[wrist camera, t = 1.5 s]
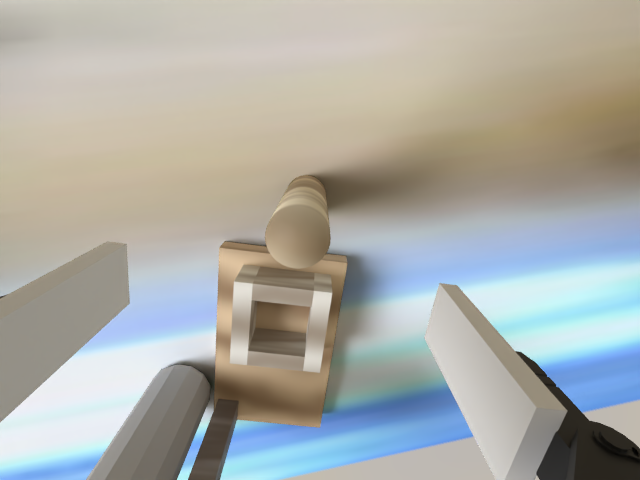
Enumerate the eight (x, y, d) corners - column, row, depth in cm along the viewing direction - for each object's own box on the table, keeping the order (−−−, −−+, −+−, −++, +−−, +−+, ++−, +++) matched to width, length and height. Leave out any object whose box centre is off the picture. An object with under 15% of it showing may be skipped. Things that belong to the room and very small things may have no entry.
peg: (288, 172, 33) (267, 202, 20) (328, 178, 33) (334, 210, 20) (284, 211, 34) (262, 264, 21) (323, 216, 34) (325, 272, 21)
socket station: (224, 241, 35) (132, 350, 18) (345, 255, 36) (371, 375, 18) (218, 404, 42) (147, 596, 25) (319, 414, 42) (320, 609, 25)
